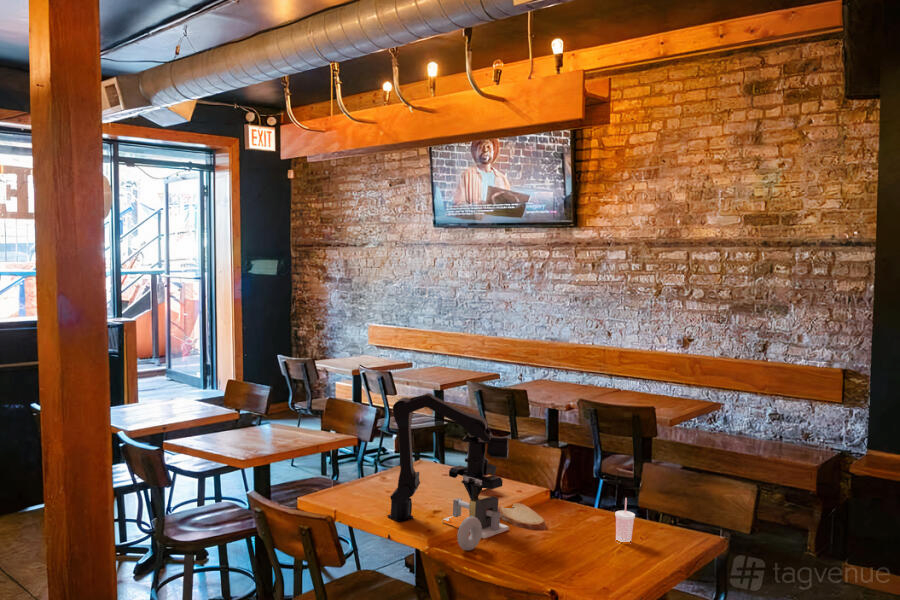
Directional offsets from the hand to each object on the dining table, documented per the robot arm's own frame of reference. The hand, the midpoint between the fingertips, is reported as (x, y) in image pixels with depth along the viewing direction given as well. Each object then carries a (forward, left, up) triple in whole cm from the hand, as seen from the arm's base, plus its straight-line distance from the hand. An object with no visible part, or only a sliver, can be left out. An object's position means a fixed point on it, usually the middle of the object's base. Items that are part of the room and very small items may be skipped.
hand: (474, 502), depth 247 cm
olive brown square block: (0, -3, -5) cm, 6 cm away
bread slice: (+18, -6, -8) cm, 21 cm away
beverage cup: (+26, -40, -8) cm, 49 cm away
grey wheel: (-17, -13, -8) cm, 22 cm away
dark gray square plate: (0, -6, -6) cm, 8 cm away
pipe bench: (0, -1, -7) cm, 7 cm away
